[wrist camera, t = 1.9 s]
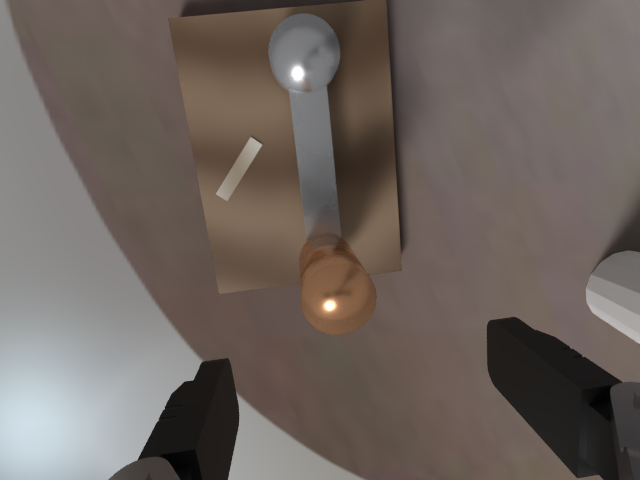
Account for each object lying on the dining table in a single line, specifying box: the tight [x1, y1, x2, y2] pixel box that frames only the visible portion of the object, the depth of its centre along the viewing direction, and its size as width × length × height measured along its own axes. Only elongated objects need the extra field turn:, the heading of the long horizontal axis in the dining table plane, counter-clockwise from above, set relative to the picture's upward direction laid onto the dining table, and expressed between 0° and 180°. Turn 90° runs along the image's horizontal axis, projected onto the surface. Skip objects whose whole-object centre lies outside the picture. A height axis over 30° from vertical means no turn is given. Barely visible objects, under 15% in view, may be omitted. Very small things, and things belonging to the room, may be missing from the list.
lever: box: [268, 13, 376, 335], centre depth 18 cm, size 14×4×8 cm, turn 6°
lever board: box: [168, 0, 402, 294], centre depth 22 cm, size 16×12×2 cm
